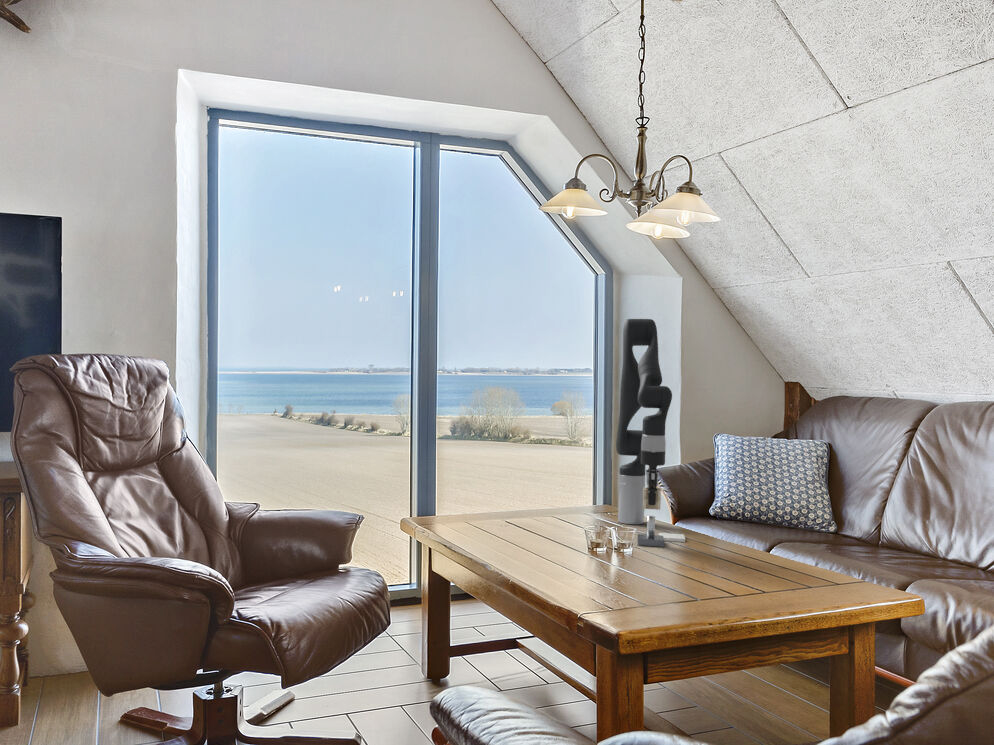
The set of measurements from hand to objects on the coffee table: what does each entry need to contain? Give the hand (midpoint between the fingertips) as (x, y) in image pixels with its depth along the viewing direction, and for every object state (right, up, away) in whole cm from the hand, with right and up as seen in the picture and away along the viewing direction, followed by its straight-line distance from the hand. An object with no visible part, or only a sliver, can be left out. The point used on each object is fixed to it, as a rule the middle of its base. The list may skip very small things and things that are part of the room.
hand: (651, 503), depth 258 cm
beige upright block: (0, -2, 0) cm, 2 cm away
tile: (+8, -13, +9) cm, 18 cm away
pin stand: (0, -13, 0) cm, 13 cm away
